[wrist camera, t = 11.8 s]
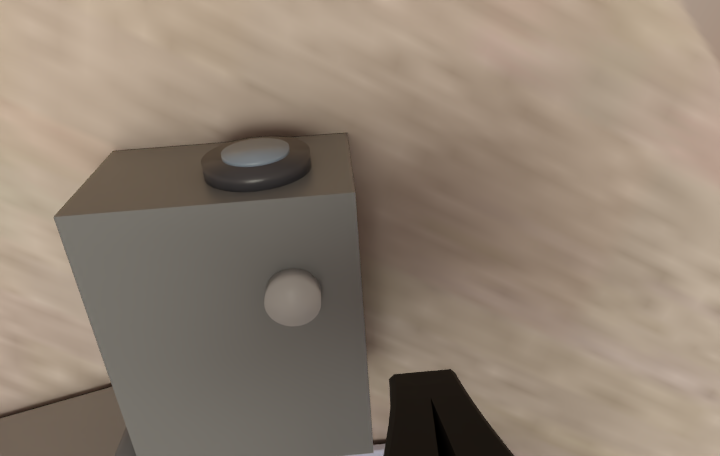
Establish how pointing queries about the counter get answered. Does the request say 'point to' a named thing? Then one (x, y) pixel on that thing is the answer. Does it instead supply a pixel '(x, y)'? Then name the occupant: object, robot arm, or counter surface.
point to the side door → (68, 429)
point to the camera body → (227, 295)
